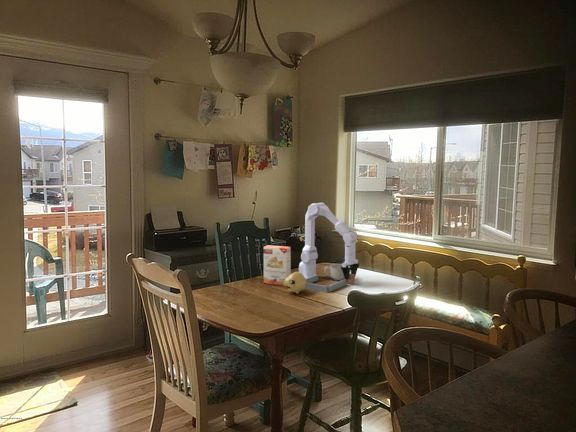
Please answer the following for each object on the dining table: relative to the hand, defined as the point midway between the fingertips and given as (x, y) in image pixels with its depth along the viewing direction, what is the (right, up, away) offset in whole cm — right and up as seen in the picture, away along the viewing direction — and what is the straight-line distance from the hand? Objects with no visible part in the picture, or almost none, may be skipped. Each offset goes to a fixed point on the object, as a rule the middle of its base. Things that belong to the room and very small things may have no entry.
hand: (350, 278), depth 252 cm
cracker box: (-40, -4, 0) cm, 40 cm away
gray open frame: (-15, -4, -4) cm, 16 cm away
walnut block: (0, -3, 0) cm, 3 cm away
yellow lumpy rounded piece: (-31, -5, -18) cm, 36 cm away
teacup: (-7, -2, +10) cm, 12 cm away
